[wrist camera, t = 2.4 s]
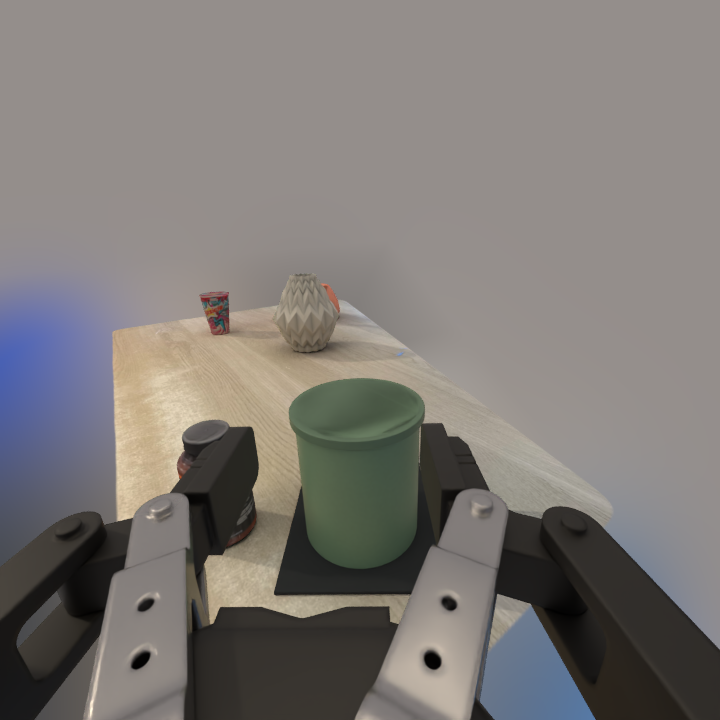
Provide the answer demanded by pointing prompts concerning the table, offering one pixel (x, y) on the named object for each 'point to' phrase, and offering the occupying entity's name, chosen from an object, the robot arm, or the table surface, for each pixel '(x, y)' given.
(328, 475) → the bucket
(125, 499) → the table surface
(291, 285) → the vase
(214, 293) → the cup
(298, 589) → the runner
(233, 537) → the supplement bottle
